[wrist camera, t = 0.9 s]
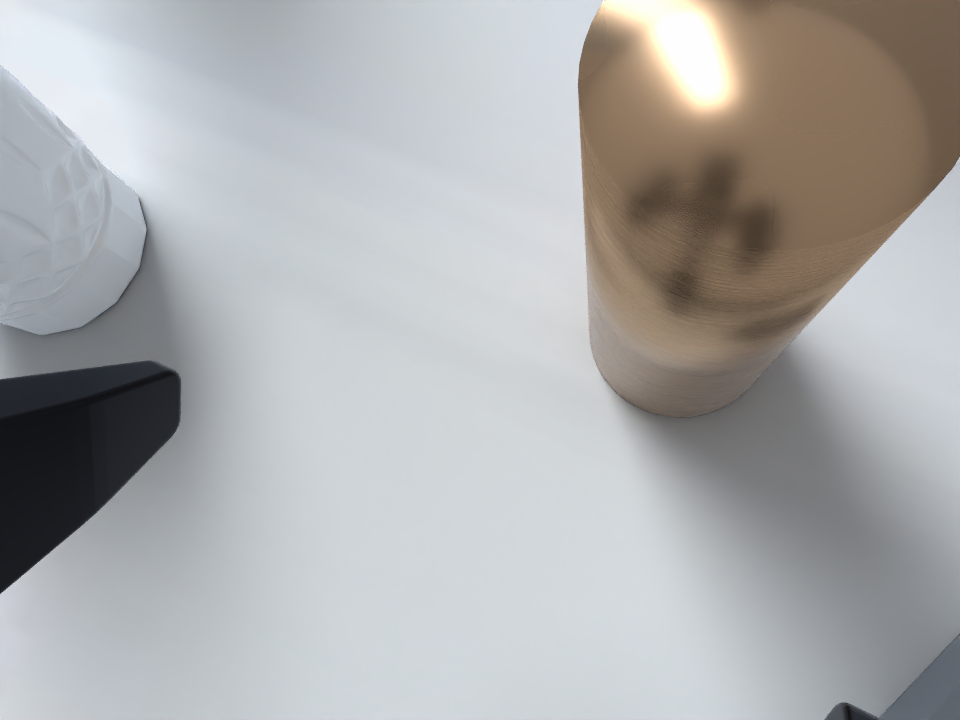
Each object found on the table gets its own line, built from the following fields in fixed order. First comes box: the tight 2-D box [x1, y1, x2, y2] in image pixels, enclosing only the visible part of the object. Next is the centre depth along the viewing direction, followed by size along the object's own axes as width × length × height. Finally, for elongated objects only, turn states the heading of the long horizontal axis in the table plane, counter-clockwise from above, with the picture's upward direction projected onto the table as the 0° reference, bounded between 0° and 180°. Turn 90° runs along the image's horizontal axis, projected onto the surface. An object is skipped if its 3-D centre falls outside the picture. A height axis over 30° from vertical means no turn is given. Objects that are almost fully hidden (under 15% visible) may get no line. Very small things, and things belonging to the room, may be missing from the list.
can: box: [578, 0, 960, 417], centre depth 17 cm, size 5×5×13 cm
